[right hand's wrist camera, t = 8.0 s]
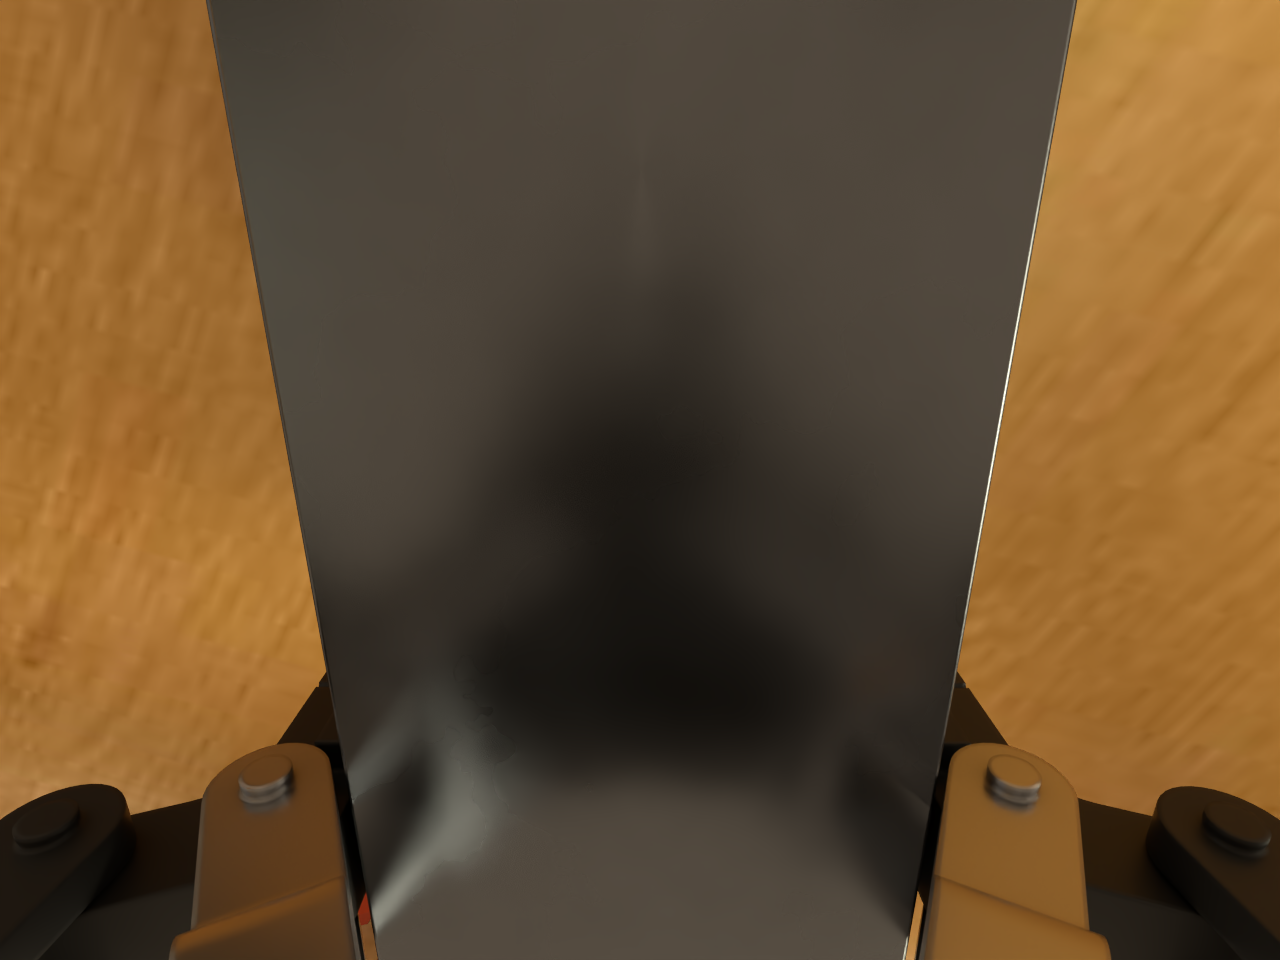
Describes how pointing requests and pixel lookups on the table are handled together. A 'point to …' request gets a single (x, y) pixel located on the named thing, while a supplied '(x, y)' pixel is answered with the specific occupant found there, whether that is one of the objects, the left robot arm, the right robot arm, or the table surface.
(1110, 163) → the table surface
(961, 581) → the box
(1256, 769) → the table surface
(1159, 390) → the table surface
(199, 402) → the table surface
